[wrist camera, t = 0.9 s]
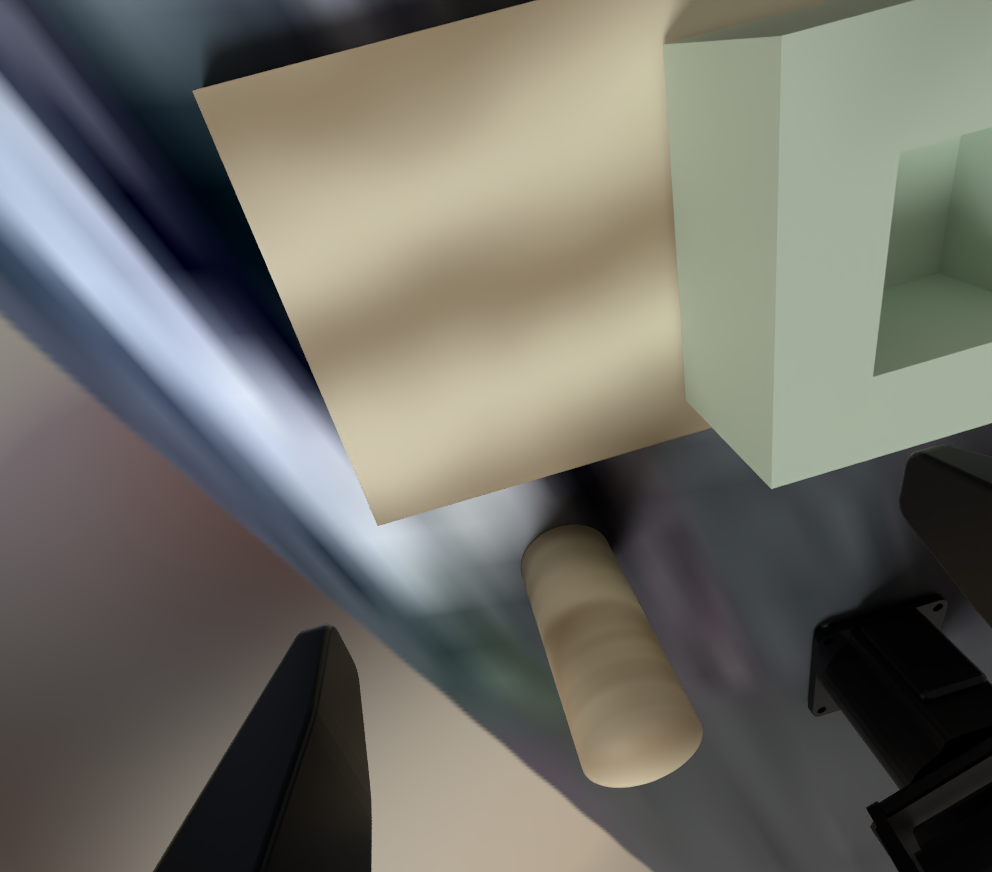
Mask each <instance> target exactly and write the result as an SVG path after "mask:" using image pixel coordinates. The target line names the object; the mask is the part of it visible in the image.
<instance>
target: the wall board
mask: <svg viewBox="0 0 992 872" xmlns="http://www.w3.org/2000/svg"><path fill="white" fill-rule="evenodd" d="M824 1H828V0H536V1H532V2H528V3H524V4H520V5H517V6H513V7H509V8H505V9H501V10H498V11H494V12H490V13H486V14H482V15H479V16H475V17H471V18H467V19H463V20H460V21H456V22H452V23H448V24H444V25H441V26H437V27H433V28H429V29H425V30H421V31H418V32H414V33H410V34H406V35H402V36H399V37H395V38H391V39H387V40H383V41H380V42H376V43H372V44H368V45H364V46H361V47H357V48H353V49H349V50H345V51H342V52H338V53H334V54H330V55H326V56H323V57H319V58H315V59H311V60H307V61H303V62H300V63H296V64H292V65H288V66H284V67H281V68H277V69H273V70H269V71H265V72H262V73H258V74H254V75H250V76H246V77H243V78H239V79H235V80H231V81H227V82H224V83H220V84H216V85H212V86H208V87H205V88H201V89H197V90H193V94H194V96H195V98H196V101H197V103H198V105H199V108H200V110H201V112H202V115H203V117H204V119H205V122H206V124H207V126H208V129H209V131H210V133H211V136H212V138H213V140H214V143H215V145H216V147H217V150H218V152H219V155H220V157H221V159H222V162H223V164H224V166H225V169H226V171H227V173H228V176H229V178H230V180H231V183H232V185H233V187H234V190H235V192H236V194H237V197H238V199H239V201H240V204H241V206H242V208H243V211H244V213H245V215H246V218H247V220H248V223H249V225H250V227H251V230H252V232H253V234H254V237H255V239H256V241H257V244H258V246H259V248H260V251H261V253H262V255H263V258H264V260H265V262H266V265H267V267H268V269H269V272H270V274H271V276H272V279H273V281H274V284H275V286H276V288H277V291H278V293H279V295H280V298H281V300H282V302H283V305H284V307H285V309H286V312H287V314H288V316H289V319H290V321H291V323H292V326H293V328H294V330H295V333H296V335H297V337H298V340H299V342H300V344H301V347H302V349H303V352H304V354H305V356H306V359H307V361H308V363H309V366H310V368H311V370H312V373H313V375H314V377H315V380H316V382H317V384H318V387H319V389H320V391H321V394H322V396H323V398H324V401H325V403H326V405H327V408H328V410H329V413H330V415H331V417H332V420H333V422H334V424H335V427H336V429H337V431H338V434H339V436H340V438H341V441H342V443H343V445H344V448H345V450H346V452H347V455H348V457H349V459H350V462H351V464H352V466H353V469H354V471H355V473H356V476H357V478H358V481H359V483H360V485H361V488H362V490H363V492H364V495H365V497H366V499H367V502H368V504H369V506H370V509H371V511H372V513H373V516H374V518H375V520H376V523H377V525H378V526H379V525H383V524H386V523H389V522H393V521H396V520H400V519H403V518H406V517H410V516H413V515H417V514H420V513H423V512H427V511H430V510H434V509H437V508H440V507H444V506H447V505H451V504H454V503H457V502H461V501H464V500H468V499H471V498H474V497H478V496H481V495H485V494H488V493H491V492H495V491H498V490H502V489H505V488H508V487H512V486H515V485H519V484H522V483H525V482H529V481H532V480H536V479H539V478H542V477H546V476H549V475H553V474H556V473H559V472H563V471H566V470H570V469H573V468H576V467H580V466H583V465H587V464H590V463H593V462H597V461H600V460H604V459H607V458H610V457H614V456H617V455H621V454H624V453H627V452H631V451H634V450H638V449H641V448H644V447H648V446H651V445H655V444H658V443H661V442H665V441H668V440H672V439H675V438H678V437H682V436H685V435H689V434H692V433H695V432H699V431H702V430H706V429H709V428H712V427H711V426H710V425H709V424H708V423H707V422H706V421H705V420H704V419H703V418H702V417H701V416H700V415H699V414H698V412H697V411H696V410H695V409H694V408H693V407H692V406H691V405H690V404H689V403H688V402H687V401H686V394H685V379H684V364H683V348H682V333H681V317H680V302H679V286H678V271H677V255H676V240H675V224H674V209H673V194H672V178H671V163H670V147H669V132H668V116H667V101H666V85H665V70H664V55H663V44H667V43H671V42H674V41H678V40H682V39H686V38H689V37H693V36H697V35H701V34H704V33H708V32H712V31H716V30H719V29H723V28H727V27H730V26H734V25H738V24H742V23H745V22H749V21H753V20H757V19H760V18H764V17H768V16H772V15H775V14H779V13H783V12H786V11H790V10H794V9H798V8H801V7H805V6H809V5H813V4H816V3H820V2H824Z"/></svg>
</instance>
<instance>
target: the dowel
mask: <svg viewBox="0 0 992 872" xmlns="http://www.w3.org/2000/svg"><path fill="white" fill-rule="evenodd" d="M521 574H522V577H523V580H524V583H525V587H526V590H527V593H528V596H529V599H530V603H531V606H532V609H533V612H534V615H535V619H536V622H537V625H538V628H539V631H540V635H541V638H542V641H543V644H544V648H545V651H546V654H547V657H548V660H549V664H550V667H551V670H552V673H553V676H554V680H555V683H556V686H557V689H558V692H559V696H560V699H561V702H562V705H563V708H564V712H565V715H566V718H567V721H568V724H569V728H570V731H571V734H572V737H573V740H574V744H575V747H576V750H577V753H578V756H579V760H580V763H581V766H582V769H583V772H584V774H585V775H586V776H587V777H588V778H589V779H590V780H591V781H593V782H594V783H597V784H599V785H602V786H607V787H617V788H621V787H632V786H637V785H642V784H645V783H649V782H652V781H655V780H657V779H659V778H662V777H664V776H666V775H668V774H670V773H671V772H673V771H674V770H676V769H677V768H679V767H680V766H682V765H683V764H684V763H685V762H686V761H687V760H688V759H689V758H690V757H691V756H692V755H693V754H694V753H695V751H696V750H697V748H698V747H699V745H700V742H701V740H702V736H703V730H702V725H701V723H700V721H699V719H698V717H697V715H696V713H695V711H694V709H693V707H692V705H691V704H690V702H689V700H688V698H687V696H686V694H685V692H684V690H683V688H682V686H681V684H680V682H679V680H678V678H677V676H676V674H675V672H674V670H673V668H672V667H671V665H670V663H669V661H668V659H667V657H666V655H665V653H664V651H663V649H662V647H661V645H660V643H659V641H658V639H657V637H656V635H655V633H654V632H653V630H652V628H651V626H650V624H649V622H648V620H647V618H646V616H645V614H644V612H643V610H642V608H641V606H640V604H639V602H638V600H637V598H636V596H635V595H634V593H633V591H632V589H631V587H630V585H629V583H628V581H627V579H626V577H625V575H624V573H623V571H622V569H621V567H620V565H619V563H618V561H617V560H616V558H615V556H614V554H613V552H612V550H611V548H610V546H609V544H608V542H607V540H606V538H605V537H604V536H603V535H602V534H601V533H600V532H599V531H597V530H596V529H594V528H592V527H589V526H585V525H578V524H570V525H563V526H559V527H556V528H553V529H551V530H549V531H546V532H545V533H543V534H541V535H540V536H539V537H537V538H536V539H535V540H534V541H533V542H532V543H531V544H530V545H529V546H528V548H527V549H526V551H525V553H524V555H523V557H522V560H521Z"/></svg>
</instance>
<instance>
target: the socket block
mask: <svg viewBox="0 0 992 872" xmlns="http://www.w3.org/2000/svg"><path fill="white" fill-rule="evenodd" d="M663 55H664V70H665V85H666V101H667V116H668V132H669V147H670V163H671V178H672V194H673V209H674V224H675V240H676V255H677V271H678V286H679V302H680V317H681V333H682V348H683V364H684V379H685V394H686V401H687V402H688V403H689V404H690V405H691V406H692V407H693V408H694V409H695V410H696V411H697V412H698V414H699V415H700V416H701V417H702V418H703V419H704V420H705V421H706V422H707V423H708V424H709V425H710V426H711V427H712V428H713V429H714V430H715V431H716V432H717V433H718V434H719V435H720V436H721V437H722V438H723V439H724V440H725V441H726V442H727V444H728V445H729V446H730V447H731V448H732V449H733V450H734V451H735V452H736V453H737V454H738V455H739V456H740V457H741V458H742V459H743V460H744V461H745V462H746V463H747V464H748V465H749V466H750V467H751V468H752V469H753V470H754V471H755V473H756V474H757V475H758V476H759V477H760V478H761V479H762V480H763V481H764V482H765V483H766V484H767V485H768V486H769V487H770V488H771V489H773V488H776V487H779V486H783V485H786V484H789V483H793V482H796V481H799V480H803V479H806V478H809V477H813V476H816V475H819V474H823V473H826V472H829V471H833V470H836V469H839V468H843V467H846V466H850V465H853V464H856V463H860V462H863V461H866V460H870V459H873V458H876V457H880V456H883V455H886V454H890V453H893V452H896V451H900V450H903V449H906V448H910V447H913V446H916V445H920V444H923V443H926V442H930V441H933V440H936V439H940V438H943V437H946V436H950V435H953V434H956V433H960V432H963V431H966V430H970V429H973V428H976V427H980V426H983V425H986V424H990V423H992V0H828V1H824V2H820V3H816V4H813V5H809V6H805V7H801V8H798V9H794V10H790V11H786V12H783V13H779V14H775V15H772V16H768V17H764V18H760V19H757V20H753V21H749V22H745V23H742V24H738V25H734V26H730V27H727V28H723V29H719V30H716V31H712V32H708V33H704V34H701V35H697V36H693V37H689V38H686V39H682V40H678V41H674V42H671V43H667V44H663Z"/></svg>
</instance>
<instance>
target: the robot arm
mask: <svg viewBox="0 0 992 872" xmlns="http://www.w3.org/2000/svg"><path fill="white" fill-rule="evenodd" d="M899 504H900V509H901V512H902V514H903V516H904V518H905V519H906V521H907V522H908V524H909V525H910V526H911V527H912V529H913V530H914V531H915V533H916V534H917V535H918V536H919V538H920V539H921V540H922V542H923V543H924V544H925V546H926V547H927V548H928V549H929V551H930V552H931V553H932V555H933V556H934V557H935V559H936V560H937V561H938V562H939V564H940V565H941V566H942V568H943V569H944V570H945V571H946V573H947V574H948V575H949V577H950V578H951V579H952V581H953V582H954V583H955V584H956V586H957V587H958V588H959V590H960V591H961V592H962V593H963V595H964V596H965V597H966V599H967V600H968V601H969V602H970V604H971V605H972V606H973V607H974V608H975V610H976V611H977V612H978V613H979V614H980V616H981V617H982V618H983V619H984V620H985V621H986V622H987V623H988V625H989V626H990V627H991V628H992V456H988V455H984V454H980V453H976V452H973V451H969V450H965V449H961V448H957V447H953V446H949V445H936V446H933V447H929V448H926V449H922V450H919V451H916V452H913V453H912V454H910V456H909V457H908V458H907V460H906V464H905V469H904V475H903V481H902V486H901V492H900V498H899ZM947 606H948V602H947V601H946V600H945V599H944V598H943V597H942V596H941V595H940V594H933V595H930V596H926V597H923V598H920V599H917V600H913V601H910V602H907V603H904V604H900V605H897V606H894V607H891V608H888V609H884V610H881V611H878V612H875V613H871V614H868V615H865V616H862V617H858V618H855V619H852V620H849V621H846V622H842V623H839V624H836V625H833V626H829V627H826V628H823V629H821V630H819V631H818V632H817V633H816V634H815V636H814V640H813V652H812V664H811V676H810V688H809V701H808V708H809V710H810V711H811V713H812V714H813V715H814V716H822V715H826V714H829V713H832V712H835V711H838V710H841V711H842V712H843V714H844V715H845V716H846V718H847V719H848V720H849V722H850V723H851V724H852V726H853V727H854V728H855V730H856V731H857V732H858V734H859V735H860V737H861V738H862V739H863V741H864V742H865V743H866V745H867V746H868V747H869V749H870V750H871V751H872V753H873V754H874V755H875V757H876V758H877V759H878V761H879V762H880V763H881V765H882V766H883V768H884V769H885V770H886V772H887V773H888V774H889V776H890V777H891V778H892V780H893V781H894V782H895V784H896V785H897V786H898V788H899V789H900V790H899V791H897V792H896V793H894V794H893V795H891V796H889V797H888V798H886V799H884V800H883V801H881V802H880V803H879V802H877V801H876V802H875V803H873V804H871V805H870V806H868V807H866V809H867V811H868V812H869V814H870V816H871V817H872V819H873V823H872V825H871V826H870V828H871V829H872V831H873V832H874V834H875V835H876V837H877V838H878V840H879V841H880V843H881V844H882V846H883V847H884V849H885V850H886V852H887V853H888V855H889V856H890V858H891V860H892V861H893V863H894V865H895V866H896V868H897V870H898V872H992V684H991V683H990V682H989V681H988V680H987V679H986V676H985V674H984V673H983V672H982V671H981V670H980V669H979V668H978V667H977V666H976V665H975V664H974V663H972V662H971V661H970V660H969V659H968V658H967V657H966V656H965V655H964V654H963V653H962V652H961V651H960V650H959V649H958V648H957V647H956V646H955V645H954V644H953V643H952V642H951V641H950V640H949V639H948V638H947V637H946V636H945V635H944V634H943V633H942V632H941V630H942V626H943V622H944V618H945V614H946V610H947ZM371 816H372V815H371V792H370V780H369V771H368V761H367V751H366V742H365V732H364V723H363V714H362V704H361V694H360V685H359V678H358V673H357V669H356V666H355V663H354V661H353V659H352V657H351V655H350V654H349V652H348V650H347V648H346V646H345V644H344V642H343V640H342V638H341V636H340V634H339V632H338V630H337V629H336V628H335V627H334V626H333V625H332V624H323V625H320V626H317V627H313V628H310V629H307V630H303V631H302V632H300V633H299V634H298V635H297V636H296V638H295V639H294V641H293V643H292V644H291V646H290V647H289V649H288V651H287V652H286V654H285V656H284V657H283V659H282V661H281V662H280V664H279V665H278V667H277V669H276V671H275V672H274V674H273V675H272V677H271V679H270V680H269V682H268V684H267V685H266V687H265V689H264V690H263V692H262V693H261V695H260V697H259V698H258V700H257V702H256V703H255V705H254V707H253V708H252V710H251V712H250V713H249V715H248V716H247V718H246V720H245V721H244V723H243V725H242V726H241V728H240V729H239V731H238V733H237V734H236V736H235V738H234V739H233V741H232V743H231V744H230V746H229V747H228V749H227V751H226V752H225V754H224V756H223V757H222V759H221V761H220V762H219V764H218V766H217V767H216V769H215V771H214V772H213V774H212V775H211V777H210V779H209V780H208V782H207V784H206V785H205V787H204V789H203V790H202V792H201V793H200V795H199V797H198V798H197V800H196V802H195V803H194V805H193V806H192V808H191V810H190V811H189V813H188V815H187V816H186V818H185V820H184V821H183V823H182V825H181V826H180V828H179V830H178V831H177V833H176V834H175V836H174V838H173V839H172V841H171V843H170V844H169V846H168V847H167V849H166V851H165V852H164V854H163V856H162V857H161V859H160V861H159V862H158V864H157V866H156V867H155V869H154V871H153V872H371V849H372V848H371V847H372V844H371V843H372V840H371V839H372V820H371V819H372V817H371Z"/></svg>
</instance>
